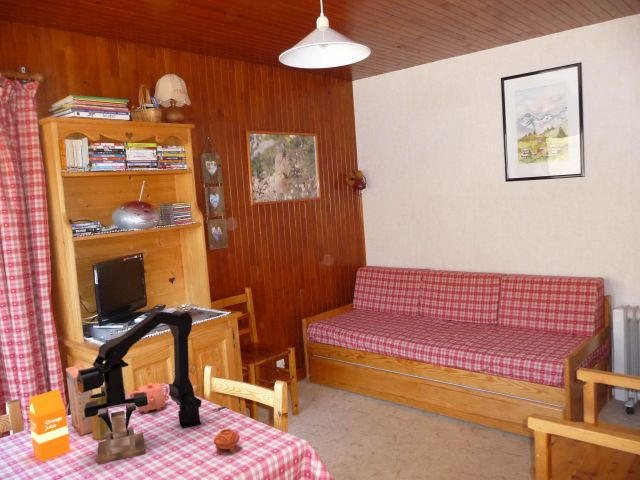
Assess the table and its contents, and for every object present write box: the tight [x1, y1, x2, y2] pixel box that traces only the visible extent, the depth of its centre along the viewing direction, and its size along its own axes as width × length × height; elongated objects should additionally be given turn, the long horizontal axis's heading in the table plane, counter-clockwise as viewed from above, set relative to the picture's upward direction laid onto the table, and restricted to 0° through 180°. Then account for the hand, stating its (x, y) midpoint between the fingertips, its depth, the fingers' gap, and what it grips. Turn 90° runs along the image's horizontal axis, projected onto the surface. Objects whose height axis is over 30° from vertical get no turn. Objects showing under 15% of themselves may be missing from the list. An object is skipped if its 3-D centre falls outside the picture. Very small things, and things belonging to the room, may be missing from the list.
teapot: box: [129, 382, 170, 414], centre depth 207 cm, size 12×12×10 cm
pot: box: [213, 428, 241, 453], centre depth 171 cm, size 8×8×7 cm
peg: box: [110, 410, 127, 439], centre depth 175 cm, size 4×4×10 cm
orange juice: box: [27, 388, 71, 462], centre depth 176 cm, size 8×9×20 cm
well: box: [96, 426, 146, 465], centre depth 176 cm, size 14×14×5 cm
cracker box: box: [65, 364, 93, 436], centre depth 194 cm, size 14×6×21 cm, turn 35°
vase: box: [89, 392, 110, 441], centre depth 186 cm, size 6×6×14 cm
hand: (119, 429), depth 175 cm, fingers open, 4 cm apart
